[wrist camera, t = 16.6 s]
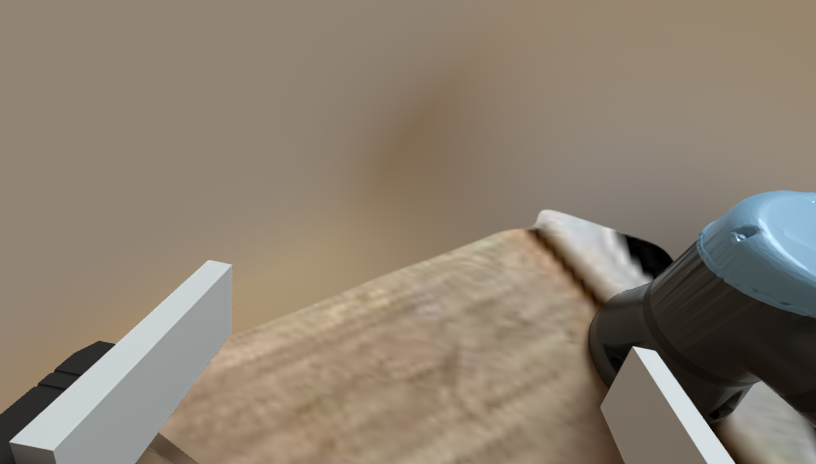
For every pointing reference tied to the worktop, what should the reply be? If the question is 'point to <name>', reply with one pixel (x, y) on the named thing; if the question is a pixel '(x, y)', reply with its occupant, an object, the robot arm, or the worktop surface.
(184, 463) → the bottle stand
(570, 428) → the worktop surface
